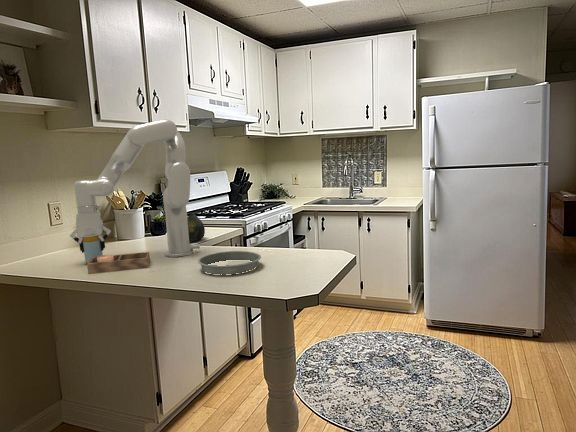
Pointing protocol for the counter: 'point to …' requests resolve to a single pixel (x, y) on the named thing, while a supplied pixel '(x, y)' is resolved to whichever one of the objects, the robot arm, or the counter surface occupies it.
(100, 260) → the pink small block
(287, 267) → the counter surface
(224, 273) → the cake pan
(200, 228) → the squash
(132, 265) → the caddy
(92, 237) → the bottle
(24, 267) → the counter surface
